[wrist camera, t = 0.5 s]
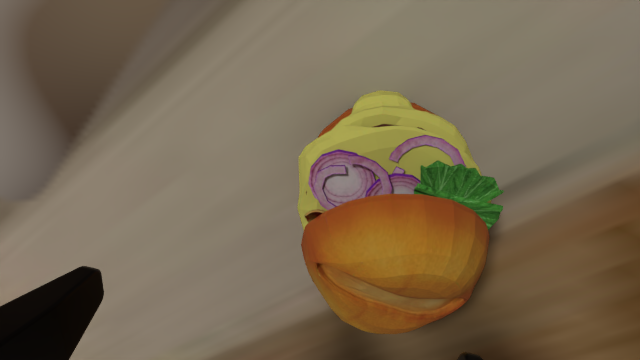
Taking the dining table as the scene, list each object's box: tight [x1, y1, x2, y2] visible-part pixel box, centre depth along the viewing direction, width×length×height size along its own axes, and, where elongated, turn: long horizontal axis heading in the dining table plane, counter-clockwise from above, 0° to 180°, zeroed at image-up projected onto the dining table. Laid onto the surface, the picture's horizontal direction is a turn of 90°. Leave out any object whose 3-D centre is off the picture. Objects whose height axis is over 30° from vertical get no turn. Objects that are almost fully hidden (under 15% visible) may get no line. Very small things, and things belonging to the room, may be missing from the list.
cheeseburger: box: [297, 91, 504, 334], centre depth 20 cm, size 10×11×10 cm
